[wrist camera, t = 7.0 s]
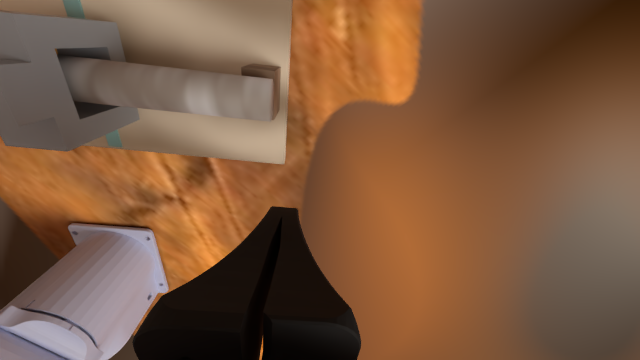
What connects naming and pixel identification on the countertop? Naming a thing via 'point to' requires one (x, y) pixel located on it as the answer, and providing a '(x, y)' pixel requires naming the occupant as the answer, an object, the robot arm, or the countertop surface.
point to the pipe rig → (187, 74)
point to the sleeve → (53, 81)
